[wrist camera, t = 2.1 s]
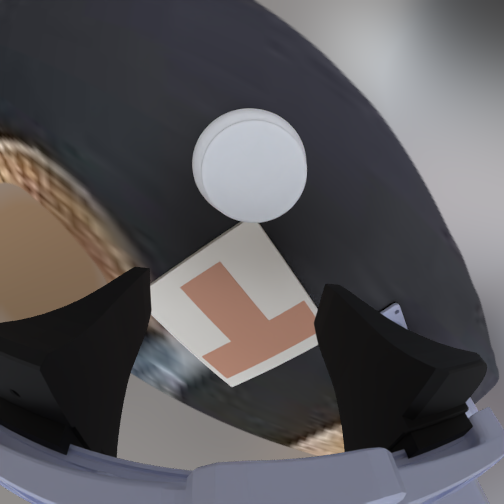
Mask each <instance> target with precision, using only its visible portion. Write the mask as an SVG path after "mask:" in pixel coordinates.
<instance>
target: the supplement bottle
mask: <svg viewBox="0 0 504 504" xmlns="http://www.w3.org/2000/svg"><path fill="white" fill-rule="evenodd" d="M192 169H193V175H194V180H195V182H196V185H197V187H198V189H199V191H200V192H201V194H202V195H203V197H204V198H205V199H206V200H207V201H208V202H209V203H210V204H211V205H212V206H213V207H214V208H216V209H217V210H219V211H220V212H222V213H223V214H224V215H226V216H228V217H230V218H232V219H234V220H237V221H241V222H247V223H261V222H266V221H270V220H272V219H275V218H277V217H279V216H281V215H282V214H284V213H286V212H287V211H288V210H289V209H290V208H291V207H292V206H293V205H294V204H295V203H296V202H297V200H298V199H299V197H300V196H301V194H302V192H303V189H304V187H305V183H306V177H307V165H306V154H305V150H304V146H303V143H302V141H301V139H300V137H299V135H298V134H297V132H296V131H295V129H294V128H293V127H292V126H291V125H290V124H289V123H288V122H287V121H285V120H284V119H283V118H281V117H280V116H278V115H276V114H274V113H271V112H269V111H265V110H261V109H254V108H245V109H238V110H234V111H231V112H228V113H226V114H224V115H222V116H220V117H218V118H217V119H215V120H214V121H213V122H211V123H210V124H209V125H208V126H207V127H206V129H205V130H204V131H203V132H202V134H201V135H200V137H199V139H198V141H197V143H196V146H195V149H194V152H193V158H192Z"/></svg>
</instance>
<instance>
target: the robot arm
mask: <svg viewBox="0 0 504 504" xmlns="http://www.w3.org/2000/svg"><path fill="white" fill-rule="evenodd" d="M396 310H397V311H396ZM151 311H152V308H151V291H150V268H141V267H134V268H132V269H130V270H129V271H127V272H125V273H124V274H122V275H121V276H119V277H118V278H116V279H114V280H113V281H111V282H110V283H108V284H107V285H105V286H103V287H102V288H100V289H98V290H96V291H95V292H93V293H91V294H89V295H88V296H86V297H84V298H82V299H80V300H78V301H76V302H73V303H71V304H69V305H67V306H64V307H62V308H59V309H56V310H53V311H51V312H48V313H45V314H42V315H38V316H34V317H31V318H26V319H22V320H17V321H10V322H3V323H0V485H1V486H3V487H5V488H6V489H8V490H9V491H11V492H13V493H14V494H16V495H18V496H19V497H21V498H23V499H25V500H26V501H28V502H30V503H32V504H489V501H488V499H487V497H486V495H485V493H484V491H483V489H482V487H481V485H480V483H479V481H478V479H477V478H478V477H479V476H480V475H482V474H483V473H484V472H485V471H487V470H488V469H490V468H491V467H492V466H493V465H495V464H496V463H497V462H498V461H499V460H501V459H502V458H503V457H504V429H503V427H502V426H501V424H500V423H499V421H498V419H497V418H496V416H495V415H494V413H493V412H492V410H491V408H490V407H487V408H485V409H483V410H481V411H478V409H477V408H476V406H475V404H474V403H473V401H472V400H471V398H470V396H471V395H472V394H473V393H474V391H475V390H476V389H477V388H478V386H479V385H480V383H481V382H482V380H483V379H484V376H485V374H486V370H487V365H486V363H485V362H484V360H483V359H482V358H481V357H480V355H478V354H477V353H475V352H470V351H465V350H461V349H457V348H453V347H450V346H446V345H443V344H440V343H437V342H435V341H432V340H430V339H427V338H425V337H423V336H420V335H418V334H416V333H414V332H412V331H410V330H408V329H407V326H406V323H405V320H404V317H403V314H402V311H401V308H400V306H399V304H398V303H394V304H392V305H390V306H389V307H387V308H386V309H384V310H383V311H381V312H380V313H379V312H378V311H376V310H375V309H374V308H372V307H371V306H369V305H368V304H366V303H365V302H364V301H362V300H361V299H360V298H358V297H357V296H355V295H354V294H353V293H351V292H350V291H348V290H347V289H345V288H343V287H342V286H340V285H334V284H325V287H324V291H323V294H322V297H321V301H320V304H319V307H318V311H317V314H316V317H315V320H314V327H315V332H316V337H317V341H318V345H319V347H320V350H321V353H322V356H323V358H324V361H325V364H326V367H327V369H328V372H329V375H330V377H331V380H332V383H333V386H334V390H335V393H336V398H337V403H338V407H339V413H340V418H341V424H342V431H343V440H344V449H345V452H343V453H337V454H331V455H324V456H316V457H307V458H297V459H284V460H261V461H260V460H259V461H235V462H218V463H214V464H210V465H205V466H201V467H198V468H196V469H195V470H193V471H191V470H181V469H174V468H166V467H160V466H154V465H148V464H143V463H138V462H133V461H128V460H124V459H120V458H117V445H118V435H119V427H120V420H121V414H122V408H123V402H124V397H125V392H126V388H127V383H128V379H129V376H130V373H131V370H132V367H133V365H134V362H135V359H136V357H137V354H138V352H139V349H140V346H141V344H142V341H143V339H144V336H145V334H146V331H147V327H148V323H149V319H150V315H151ZM395 311H396V312H395Z"/></svg>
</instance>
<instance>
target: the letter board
mask: <svg viewBox="0 0 504 504" xmlns="http://www.w3.org/2000/svg"><path fill="white" fill-rule="evenodd" d="M150 291H151V308H152V311H151V315H152V316H153V317H154V318H155V319H156V320H157V321H158V322H159V323H160V324H161V325H162V326H163V327H164V328H166V329H167V330H168V331H169V332H170V333H171V334H172V335H173V336H174V337H175V338H176V339H177V340H178V341H179V342H180V343H181V344H182V345H184V346H185V347H186V348H187V349H188V350H189V351H190V352H191V353H192V354H193V355H195V356H196V357H197V358H198V359H199V360H200V361H201V362H202V363H204V364H205V365H206V366H207V367H208V368H209V369H211V370H212V371H213V372H214V373H215V374H217V375H218V376H219V377H220V378H221V379H223V380H224V381H225V382H226V383H227V384H229V385H230V386H231V387H233V386H236V385H238V384H240V383H242V382H245V381H247V380H249V379H251V378H253V377H255V376H258V375H260V374H262V373H264V372H266V371H268V370H270V369H272V368H274V367H276V366H278V365H280V364H282V363H284V362H286V361H288V360H290V359H292V358H294V357H296V356H298V355H300V354H302V353H304V352H305V351H307V350H309V349H311V348H313V347H315V346H316V345H318V341H317V337H316V332H315V327H314V320H315V317H316V314H317V311H318V308H317V307H316V305H315V304H314V302H313V301H312V299H311V298H310V296H309V295H308V294H307V292H306V291H305V289H304V288H303V286H302V285H301V283H300V282H299V280H298V279H297V277H296V276H295V274H294V273H293V272H292V270H291V269H290V267H289V266H288V264H287V263H286V261H285V260H284V258H283V257H282V256H281V254H280V253H279V251H278V250H277V248H276V247H275V245H274V244H273V243H272V241H271V240H270V238H269V237H268V235H267V234H266V233H265V231H264V230H263V228H262V227H261V225H260V224H259V223H247V222H239V223H238V224H236V225H235V226H233V227H232V228H230V229H229V230H227V231H226V232H224V233H223V234H221V235H220V236H218V237H217V238H215V239H214V240H213V241H211V242H210V243H208V244H207V245H205V246H204V247H202V248H201V249H199V250H198V251H196V252H195V253H194V254H192V255H191V256H189V257H188V258H186V259H185V260H183V261H182V262H180V263H179V264H178V265H176V266H175V267H173V268H172V269H170V270H169V271H168V272H166V273H165V274H163V275H162V276H160V277H159V278H158V279H156V280H155V281H153V282H152V283H151V284H150Z"/></svg>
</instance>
